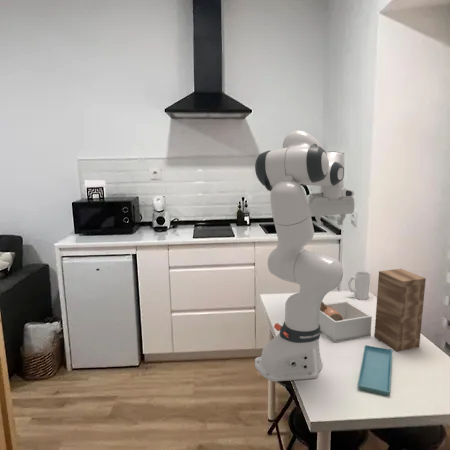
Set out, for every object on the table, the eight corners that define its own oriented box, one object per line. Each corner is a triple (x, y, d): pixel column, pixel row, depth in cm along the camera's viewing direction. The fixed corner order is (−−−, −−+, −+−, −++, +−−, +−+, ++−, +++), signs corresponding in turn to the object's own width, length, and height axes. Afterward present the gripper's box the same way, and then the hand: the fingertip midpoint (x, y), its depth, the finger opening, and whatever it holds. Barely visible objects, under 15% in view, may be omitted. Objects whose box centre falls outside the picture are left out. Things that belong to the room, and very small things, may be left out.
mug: (365, 294, 199) (367, 271, 197) (371, 300, 193) (372, 275, 190) (345, 295, 199) (346, 271, 197) (349, 300, 192) (351, 276, 190)
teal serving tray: (389, 398, 120) (390, 391, 119) (356, 391, 123) (357, 383, 123) (392, 356, 143) (392, 349, 143) (364, 351, 147) (364, 344, 146)
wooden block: (396, 351, 145) (402, 281, 140) (374, 336, 157) (379, 271, 151) (419, 347, 149) (425, 278, 143) (395, 332, 160) (401, 268, 155)
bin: (334, 342, 152) (335, 322, 151) (311, 324, 167) (312, 306, 165) (370, 336, 157) (371, 316, 156) (345, 319, 172) (346, 301, 170)
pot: (337, 314, 168) (346, 321, 161) (324, 325, 167) (332, 333, 161) (316, 286, 163) (325, 293, 156) (303, 298, 162) (311, 305, 156)
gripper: (313, 194, 160) (311, 228, 163) (357, 191, 167) (355, 225, 169) (305, 192, 166) (303, 225, 169) (348, 190, 173) (346, 222, 175)
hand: (330, 225), depth 169 cm, fingers open, 8 cm apart
